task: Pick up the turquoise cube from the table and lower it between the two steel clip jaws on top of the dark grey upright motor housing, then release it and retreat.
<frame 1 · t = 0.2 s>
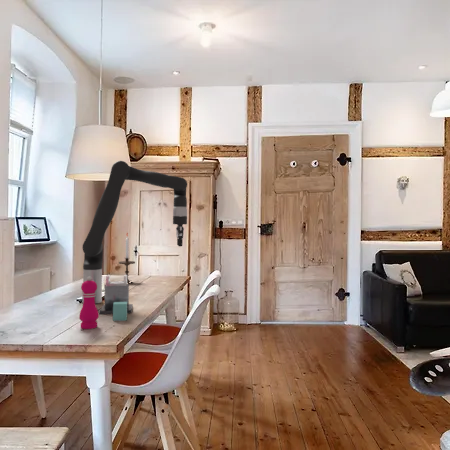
hand: (179, 245, 221), 29 cm above the table, fingers open, 8 cm apart
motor: (116, 310, 195), on the table
candlestick: (126, 283, 284), on the table
pepper mill: (89, 327, 164), on the table
turquoise cube: (120, 319, 177), on the table
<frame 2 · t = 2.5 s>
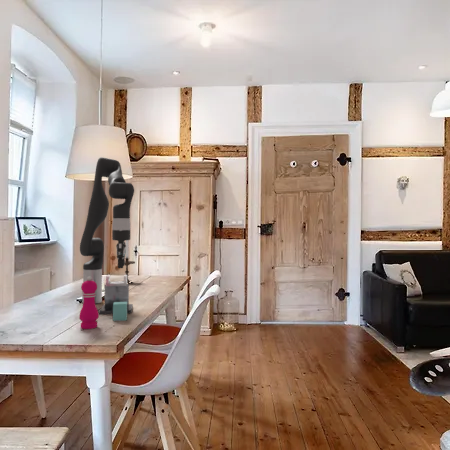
hand: (121, 267, 177), 22 cm above the table, fingers open, 8 cm apart
nothing on the table moved.
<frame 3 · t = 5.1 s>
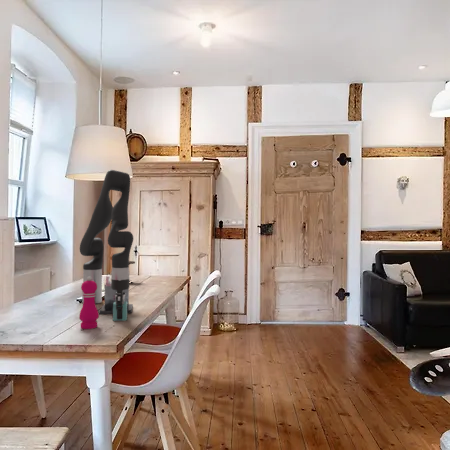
hand: (120, 317, 177), 1 cm above the table, fingers closed on turquoise cube, 5 cm apart
turquoise cube: (120, 319, 177), on the table, touching gripper
everything else where it was.
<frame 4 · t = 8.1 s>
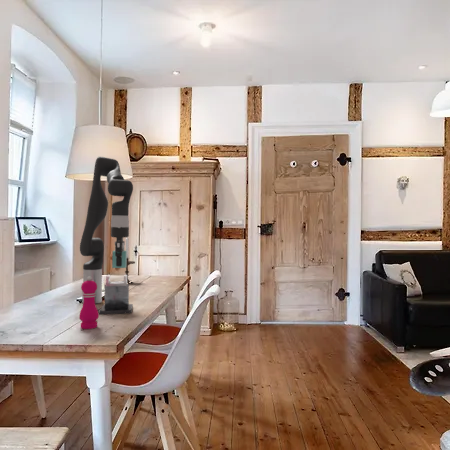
hand: (119, 265, 179), 23 cm above the table, fingers closed on turquoise cube, 5 cm apart
turquoise cube: (119, 267, 179), point 22 cm above the table, touching gripper
everything else where it was.
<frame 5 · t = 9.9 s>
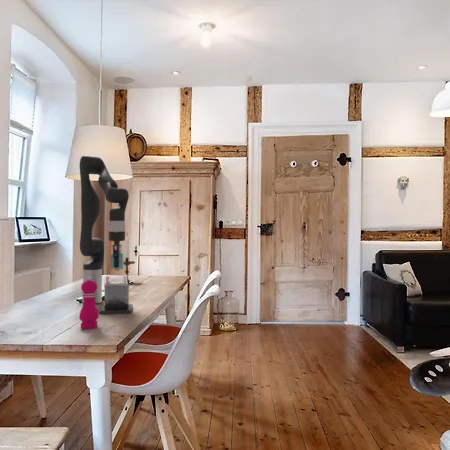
hand: (116, 266, 195), 21 cm above the table, fingers closed on turquoise cube, 5 cm apart
turquoise cube: (116, 268, 195), point 20 cm above the table, touching gripper
everything else where it was.
when the fingers open (15 cm above the table, at t = 11.4 s): turquoise cube drops 1 cm, resting on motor.
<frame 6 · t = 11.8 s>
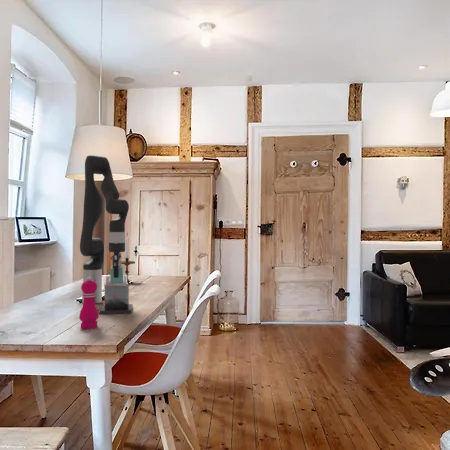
hand: (116, 276, 195), 16 cm above the table, fingers open, 8 cm apart
turquoise cube: (116, 282, 195), point 13 cm above the table, touching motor
everything else where it was.
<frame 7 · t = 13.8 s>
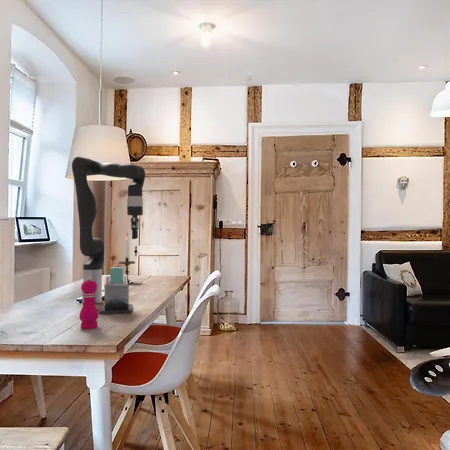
hand: (134, 238, 204), 33 cm above the table, fingers open, 8 cm apart
nothing on the table moved.
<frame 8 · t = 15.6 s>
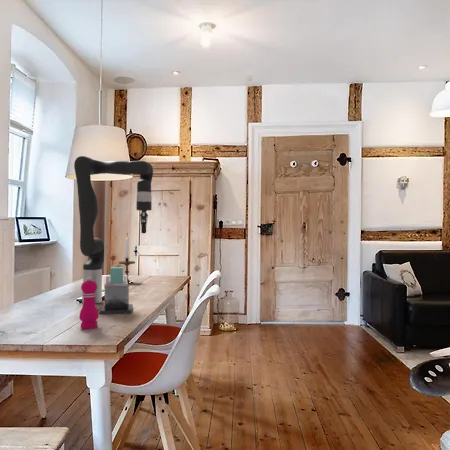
hand: (143, 233, 210), 36 cm above the table, fingers open, 8 cm apart
nothing on the table moved.
at the end: turquoise cube 0.1 cm off-centre on the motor, point 13.2 cm above the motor's base; turquoise cube tilted 0°; the gripper is holding nothing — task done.
